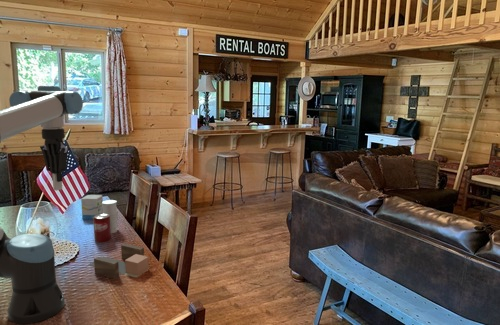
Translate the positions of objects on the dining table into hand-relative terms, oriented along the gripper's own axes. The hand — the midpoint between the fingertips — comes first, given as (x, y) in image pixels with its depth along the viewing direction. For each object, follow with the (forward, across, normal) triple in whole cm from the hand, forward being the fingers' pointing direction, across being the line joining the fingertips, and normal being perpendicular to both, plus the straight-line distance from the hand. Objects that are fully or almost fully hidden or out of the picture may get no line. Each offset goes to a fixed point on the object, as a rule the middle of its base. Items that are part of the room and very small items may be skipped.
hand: (58, 189), depth 140 cm
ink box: (+31, +35, -47) cm, 66 cm away
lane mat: (+30, -21, -7) cm, 38 cm away
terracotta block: (+30, -30, -7) cm, 44 cm away
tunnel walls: (+30, -22, -7) cm, 38 cm away
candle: (+31, +10, -35) cm, 48 cm away
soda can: (+31, +4, -24) cm, 39 cm away
